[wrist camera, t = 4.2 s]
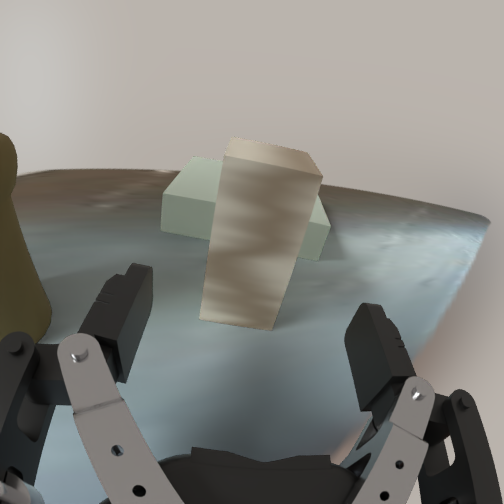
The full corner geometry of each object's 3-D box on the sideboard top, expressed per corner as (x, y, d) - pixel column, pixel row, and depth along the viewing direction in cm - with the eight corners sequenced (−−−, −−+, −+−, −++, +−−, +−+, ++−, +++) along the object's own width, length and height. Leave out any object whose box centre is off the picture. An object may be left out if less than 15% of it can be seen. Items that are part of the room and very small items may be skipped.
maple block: (199, 319, 18) (224, 155, 13) (208, 275, 22) (231, 136, 17) (271, 330, 18) (323, 176, 13) (269, 285, 22) (307, 152, 17)
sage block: (160, 235, 26) (162, 193, 24) (189, 187, 36) (193, 156, 34) (316, 265, 27) (330, 226, 25) (302, 209, 37) (311, 179, 35)
